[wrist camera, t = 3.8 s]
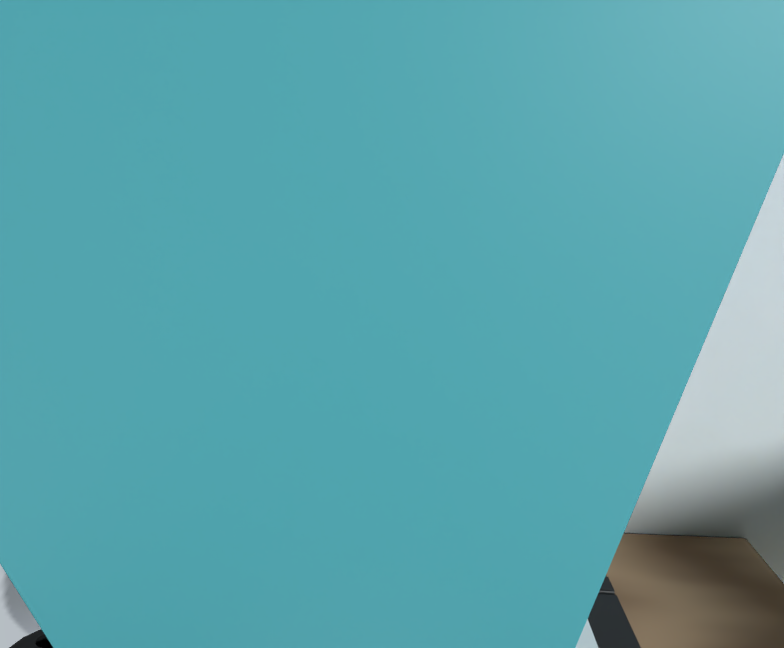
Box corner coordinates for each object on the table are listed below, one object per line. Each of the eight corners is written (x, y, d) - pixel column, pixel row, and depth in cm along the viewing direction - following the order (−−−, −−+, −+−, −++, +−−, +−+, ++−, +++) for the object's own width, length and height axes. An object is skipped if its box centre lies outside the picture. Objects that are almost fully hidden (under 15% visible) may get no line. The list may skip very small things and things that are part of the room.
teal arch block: (291, 73, 9) (-609, -399, 1) (466, 79, 9) (1003, -371, 1) (320, 484, 15) (220, 911, 7) (428, 488, 15) (459, 923, 7)
